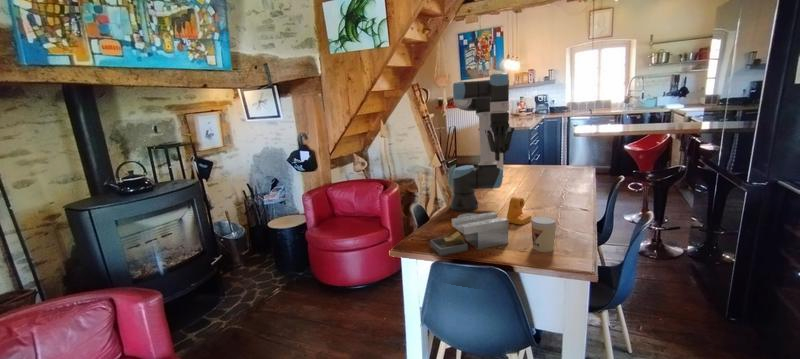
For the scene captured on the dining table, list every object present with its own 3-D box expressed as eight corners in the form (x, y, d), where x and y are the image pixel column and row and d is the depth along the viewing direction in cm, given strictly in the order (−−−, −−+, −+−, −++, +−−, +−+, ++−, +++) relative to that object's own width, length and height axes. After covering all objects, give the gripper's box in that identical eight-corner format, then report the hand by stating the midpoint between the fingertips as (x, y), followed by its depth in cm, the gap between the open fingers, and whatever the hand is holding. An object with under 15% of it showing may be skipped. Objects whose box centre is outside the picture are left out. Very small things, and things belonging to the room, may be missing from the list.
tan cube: (455, 241, 158) (451, 235, 157) (462, 236, 158) (457, 230, 157) (457, 245, 154) (453, 239, 153) (464, 240, 154) (460, 234, 153)
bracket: (520, 226, 176) (520, 201, 173) (506, 223, 181) (506, 199, 179) (532, 220, 183) (532, 196, 180) (518, 217, 188) (518, 194, 185)
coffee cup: (526, 245, 154) (527, 217, 152) (548, 242, 155) (549, 215, 152) (536, 254, 145) (537, 224, 143) (560, 251, 146) (561, 222, 143)
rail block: (452, 241, 163) (451, 218, 161) (493, 234, 168) (493, 211, 166) (464, 252, 152) (464, 227, 149) (508, 243, 157) (508, 219, 155)
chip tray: (430, 246, 160) (430, 239, 159) (456, 241, 163) (455, 235, 162) (440, 256, 149) (440, 249, 149) (467, 251, 152) (467, 244, 152)
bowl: (467, 235, 168) (467, 222, 167) (452, 228, 178) (452, 216, 177) (487, 230, 173) (487, 217, 172) (471, 223, 183) (471, 211, 182)
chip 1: (451, 244, 158) (443, 246, 158) (451, 237, 158) (443, 238, 157) (454, 248, 155) (446, 249, 154) (454, 240, 154) (446, 241, 154)
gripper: (490, 113, 150) (491, 171, 155) (518, 111, 153) (518, 167, 159) (480, 113, 157) (482, 168, 162) (508, 110, 161) (508, 164, 166)
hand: (500, 167), depth 160 cm, fingers closed
